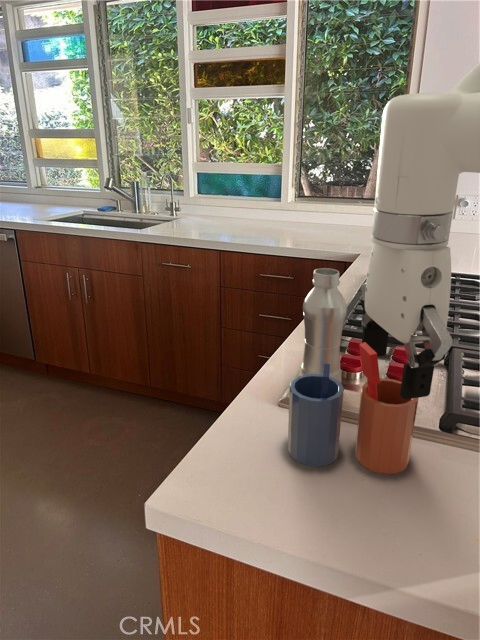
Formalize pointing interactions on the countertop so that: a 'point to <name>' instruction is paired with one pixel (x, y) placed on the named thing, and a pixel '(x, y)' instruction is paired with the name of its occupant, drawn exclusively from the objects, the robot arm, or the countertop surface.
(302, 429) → the blue cup
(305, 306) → the silver bottle
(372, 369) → the red spatula
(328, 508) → the countertop surface
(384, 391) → the terracotta cup
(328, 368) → the navy spoon
